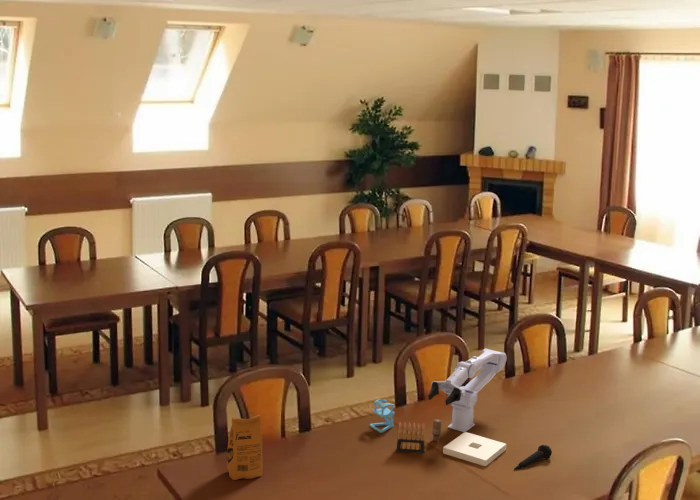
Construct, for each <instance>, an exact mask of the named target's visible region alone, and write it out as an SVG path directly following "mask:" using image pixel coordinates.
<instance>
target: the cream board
mask: <svg viewBox="0 0 700 500" xmlns="http://www.w3.org/2000/svg"><path fill="white" fill-rule="evenodd" d="M506 450H507V443H505V442H501V441H499V440H495V439H491V438H488V437H483V436H481V435H478V434H474V433H471V432H467V431H466V432H462V433H461V434H460V435H459V436H457V437H456V438H455V439H453V440H451V441H450V442H448V443H447V444H446V445H444V446H443V448H442V453H443V454H444V455H446V456H447V455H448V456H451V457H453V458H457V459H460V460H463V461H466V462H469V463H473V464H476V465H478V466H482V467H487V466H488V465H490V464H491V463H492V462H493V461H494V460H495V459H497V458H498V457H499V456H501V455H502V454H503V453H504V452H505V451H506Z"/></svg>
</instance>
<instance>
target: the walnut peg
mask: <svg viewBox="0 0 700 500" xmlns="http://www.w3.org/2000/svg"><path fill="white" fill-rule="evenodd" d="M441 431H442V420H440V419H432V433H431V434H432V441H433V442H439V441H440V438H441V437H440V436H441V435H442V434H441Z"/></svg>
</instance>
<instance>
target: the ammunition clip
mask: <svg viewBox="0 0 700 500" xmlns="http://www.w3.org/2000/svg"><path fill="white" fill-rule="evenodd" d="M412 423H413V424H412V425H411V422H410V421H409V422H408V424H407V423H406V421H404V422H403V426H402V422H401V421H399V422H398V427H397V428H398V429H397V437H396V439H397V440H396V452H399V453H401V452H402V453H403V452H404V453H416V454H417V453H418V454H419V453H420V454H425V441H426V439H425V438H426V432H425V431H426V430H425V428H426V427H425V423H424V422H422V424H421V425H420V422H418V423H417V424H416V423H415V422H412ZM416 425H417V426H416Z"/></svg>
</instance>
